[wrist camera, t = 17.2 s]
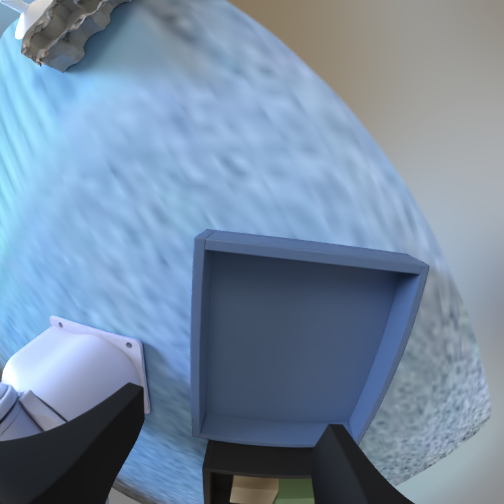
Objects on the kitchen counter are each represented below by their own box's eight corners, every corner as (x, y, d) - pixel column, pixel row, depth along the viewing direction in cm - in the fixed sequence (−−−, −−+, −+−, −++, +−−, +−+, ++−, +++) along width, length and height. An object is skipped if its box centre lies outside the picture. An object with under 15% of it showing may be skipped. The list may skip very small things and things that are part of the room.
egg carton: (68, 82, 15) (36, 68, 11) (34, 59, 14) (7, 48, 10) (154, -15, 12) (137, -42, 8) (107, -25, 12) (88, -45, 8)
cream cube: (233, 473, 21) (229, 502, 18) (236, 455, 21) (232, 487, 17) (271, 476, 21) (271, 505, 17) (278, 458, 20) (278, 490, 17)
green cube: (270, 484, 22) (270, 511, 18) (276, 468, 21) (276, 498, 17) (305, 484, 22) (308, 511, 18) (315, 468, 21) (318, 497, 17)
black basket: (210, 485, 23) (204, 513, 19) (210, 429, 20) (202, 467, 16) (319, 490, 23) (322, 518, 18) (353, 436, 20) (363, 470, 16)
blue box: (199, 411, 20) (192, 436, 17) (206, 229, 17) (194, 237, 14) (351, 421, 20) (358, 445, 17) (407, 253, 16) (430, 265, 13)
